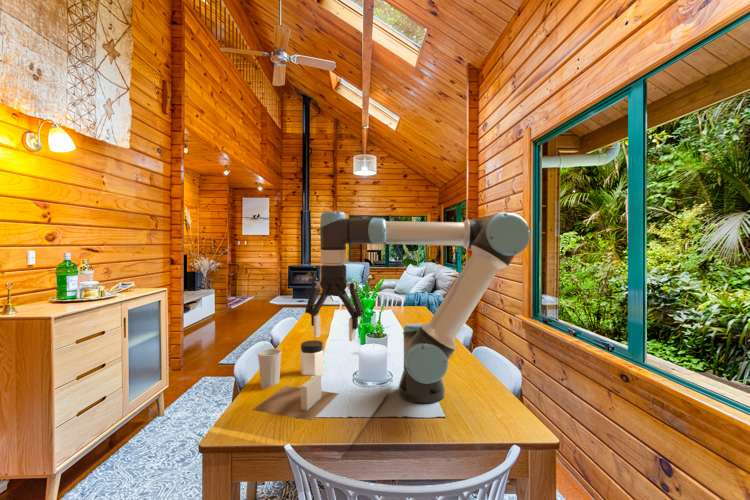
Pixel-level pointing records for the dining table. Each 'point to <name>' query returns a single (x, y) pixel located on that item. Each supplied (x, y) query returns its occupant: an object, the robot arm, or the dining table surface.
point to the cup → (269, 367)
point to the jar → (312, 358)
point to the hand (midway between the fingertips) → (334, 338)
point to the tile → (310, 392)
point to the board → (293, 403)
